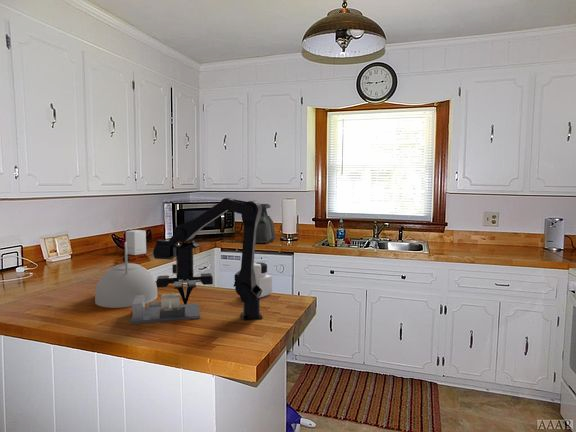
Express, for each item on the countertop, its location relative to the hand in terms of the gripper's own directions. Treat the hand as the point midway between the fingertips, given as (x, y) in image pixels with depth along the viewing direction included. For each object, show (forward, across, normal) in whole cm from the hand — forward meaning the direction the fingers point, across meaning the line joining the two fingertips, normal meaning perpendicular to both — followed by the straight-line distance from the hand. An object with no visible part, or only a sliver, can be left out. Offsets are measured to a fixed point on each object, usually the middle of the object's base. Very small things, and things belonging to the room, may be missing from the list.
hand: (185, 304), depth 136 cm
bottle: (+3, -60, -157) cm, 168 cm away
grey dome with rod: (+4, +22, -24) cm, 33 cm away
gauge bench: (+3, +6, 0) cm, 7 cm away
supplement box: (+4, +29, -126) cm, 130 cm away
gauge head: (+2, +7, +2) cm, 7 cm away
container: (+3, -30, -16) cm, 34 cm away
